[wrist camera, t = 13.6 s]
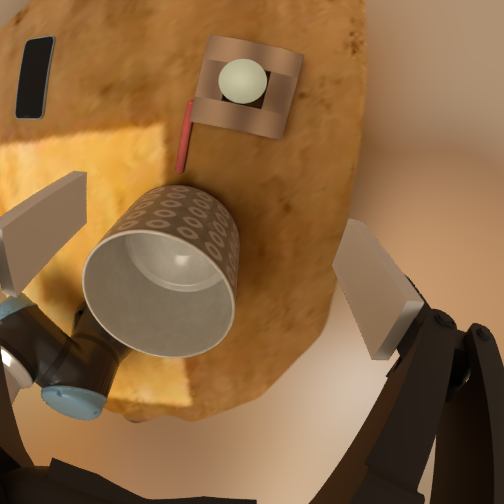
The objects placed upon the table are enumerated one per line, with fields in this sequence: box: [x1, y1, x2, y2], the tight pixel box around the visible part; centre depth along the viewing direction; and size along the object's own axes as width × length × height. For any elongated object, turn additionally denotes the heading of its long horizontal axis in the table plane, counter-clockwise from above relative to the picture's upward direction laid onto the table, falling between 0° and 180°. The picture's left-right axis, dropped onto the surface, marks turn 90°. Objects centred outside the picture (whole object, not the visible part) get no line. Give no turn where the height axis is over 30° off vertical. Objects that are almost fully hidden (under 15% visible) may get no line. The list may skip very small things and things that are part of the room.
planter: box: [82, 185, 240, 358], centre depth 42 cm, size 19×19×18 cm
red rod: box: [176, 100, 194, 173], centre depth 41 cm, size 11×1×1 cm, turn 167°
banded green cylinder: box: [219, 59, 267, 104], centre depth 30 cm, size 4×4×18 cm
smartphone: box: [15, 36, 55, 119], centre depth 34 cm, size 7×1×15 cm
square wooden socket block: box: [190, 35, 304, 140], centre depth 36 cm, size 12×12×5 cm
